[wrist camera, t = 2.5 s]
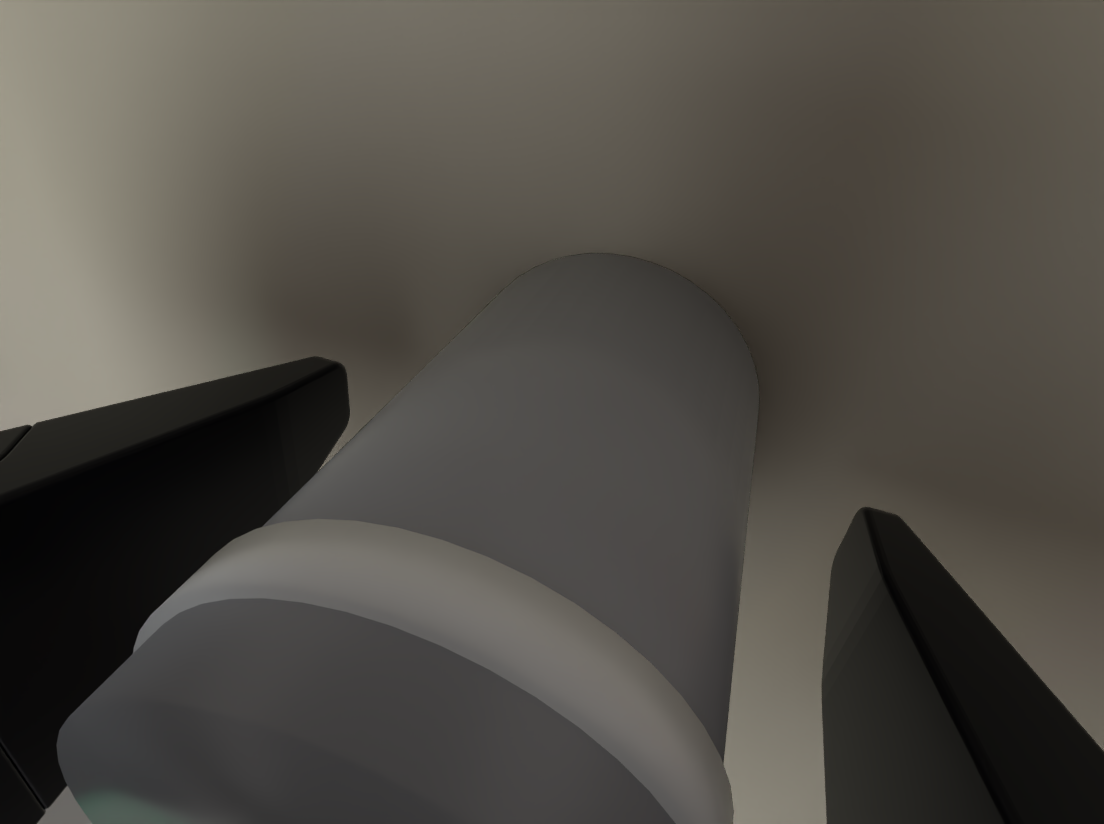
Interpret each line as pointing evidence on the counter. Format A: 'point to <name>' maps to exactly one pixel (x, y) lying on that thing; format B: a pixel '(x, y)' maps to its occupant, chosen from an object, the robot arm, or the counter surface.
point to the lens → (471, 592)
